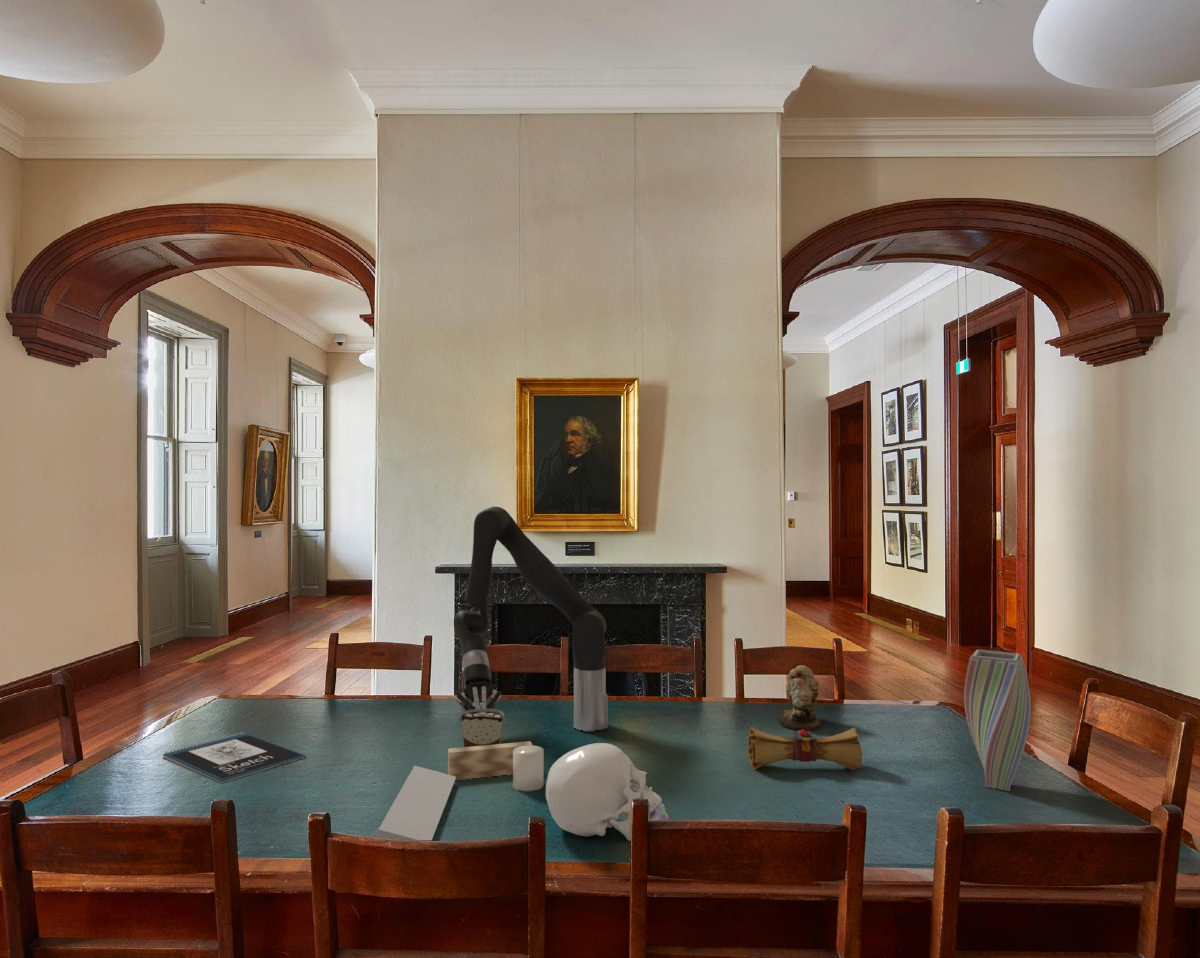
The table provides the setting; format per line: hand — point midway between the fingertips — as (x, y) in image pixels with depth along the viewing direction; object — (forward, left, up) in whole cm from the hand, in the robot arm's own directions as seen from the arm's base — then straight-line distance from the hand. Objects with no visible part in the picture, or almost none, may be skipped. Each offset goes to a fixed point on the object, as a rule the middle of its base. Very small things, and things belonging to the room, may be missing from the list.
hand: (481, 725), depth 203 cm
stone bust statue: (-93, +7, -5) cm, 93 cm away
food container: (0, +5, -5) cm, 7 cm away
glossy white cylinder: (-6, +33, -5) cm, 34 cm away
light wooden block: (+1, +22, -5) cm, 23 cm away
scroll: (-73, +42, -5) cm, 84 cm away
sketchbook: (+62, -7, -6) cm, 63 cm away
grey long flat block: (+19, +43, -6) cm, 47 cm away
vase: (-110, +64, -5) cm, 127 cm away
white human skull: (-16, +62, -5) cm, 64 cm away
